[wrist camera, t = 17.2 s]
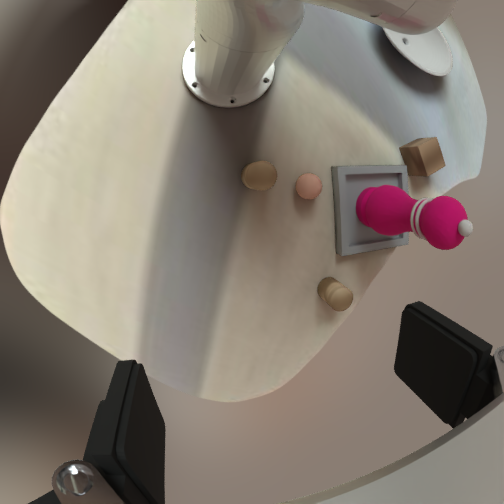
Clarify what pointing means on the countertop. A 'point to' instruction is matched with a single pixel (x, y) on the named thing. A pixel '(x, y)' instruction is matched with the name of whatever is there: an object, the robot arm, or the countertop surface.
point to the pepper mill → (414, 216)
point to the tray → (345, 196)
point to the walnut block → (422, 156)
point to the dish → (424, 50)
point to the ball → (308, 186)
